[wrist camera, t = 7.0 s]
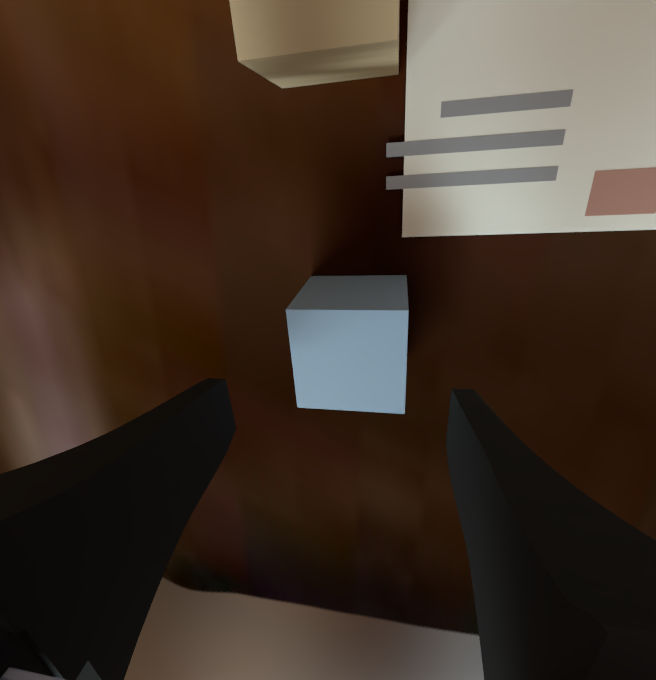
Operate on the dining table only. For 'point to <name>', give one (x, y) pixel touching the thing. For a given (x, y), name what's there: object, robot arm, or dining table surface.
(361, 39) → the oak block
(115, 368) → the dining table surface
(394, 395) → the slate cube
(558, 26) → the letter
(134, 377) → the dining table surface
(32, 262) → the dining table surface
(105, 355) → the dining table surface
